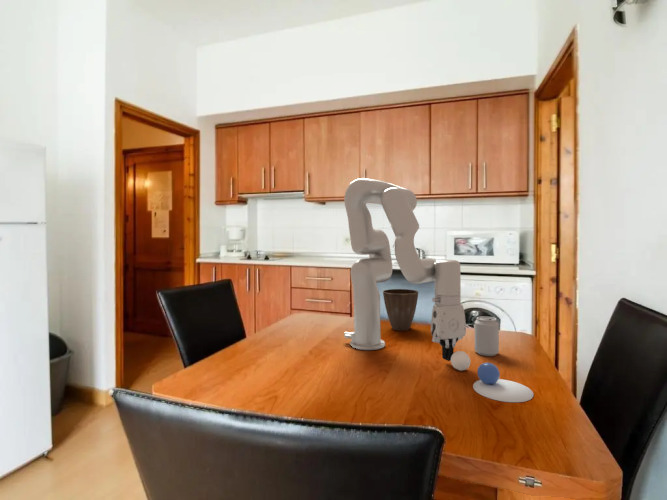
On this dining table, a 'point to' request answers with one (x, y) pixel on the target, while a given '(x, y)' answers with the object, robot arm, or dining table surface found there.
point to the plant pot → (400, 307)
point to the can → (486, 336)
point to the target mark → (504, 391)
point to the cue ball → (460, 360)
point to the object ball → (488, 373)
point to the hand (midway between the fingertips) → (447, 359)
